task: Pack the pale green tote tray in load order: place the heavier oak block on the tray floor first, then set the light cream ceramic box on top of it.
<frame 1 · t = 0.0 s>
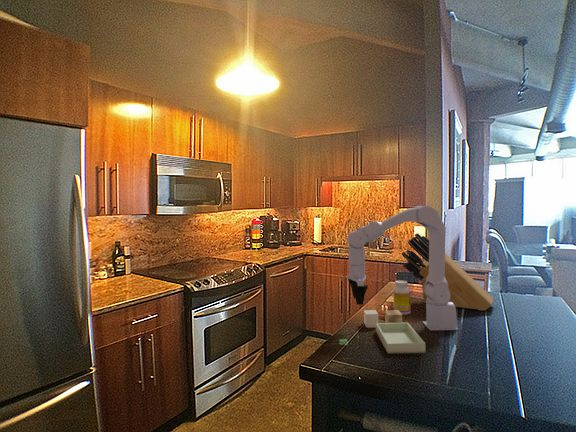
hand: (358, 301, 121), 10 cm above the worktop, tool pointing down, fingers open, 7 cm apart
oak block: (393, 325, 122), on the worktop
tote tray: (398, 341, 109), on the worktop
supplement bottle: (402, 313, 136), on the worktop
cream box: (371, 325, 124), on the worktop
knife block: (446, 303, 146), on the worktop
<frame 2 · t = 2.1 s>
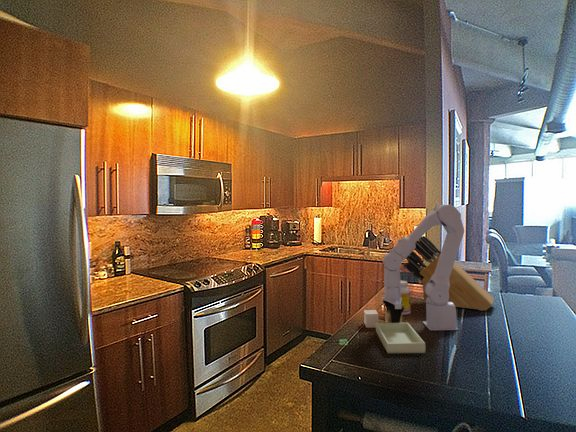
hand: (393, 322, 122), 1 cm above the worktop, tool pointing down, fingers closed on oak block, 5 cm apart
oak block: (393, 325, 122), on the worktop, touching gripper
everything else where it was.
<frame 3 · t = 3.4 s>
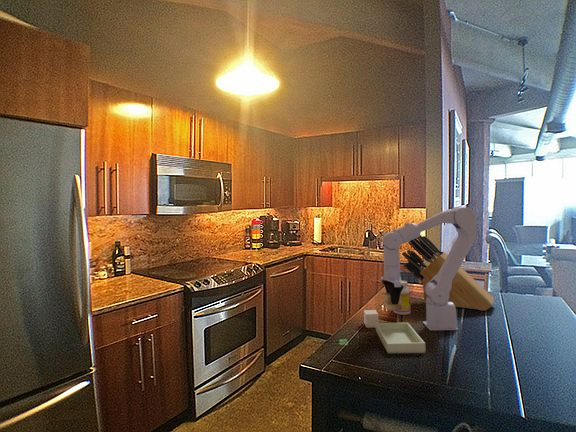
hand: (393, 301, 122), 9 cm above the worktop, tool pointing down, fingers closed on oak block, 5 cm apart
oak block: (392, 307, 122), point 7 cm above the worktop, touching gripper
everything else where it was.
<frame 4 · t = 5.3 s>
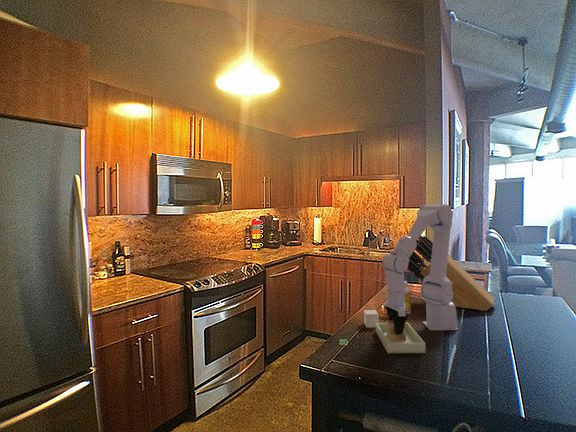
hand: (396, 330, 110), 3 cm above the worktop, tool pointing down, fingers closed on oak block, 5 cm apart
oak block: (396, 337, 111), resting on tote tray, touching gripper
everything else where it was.
when the fingers open (2 cm above the worktop, at t = 5.9 s): oak block stays where it is, resting on tote tray.
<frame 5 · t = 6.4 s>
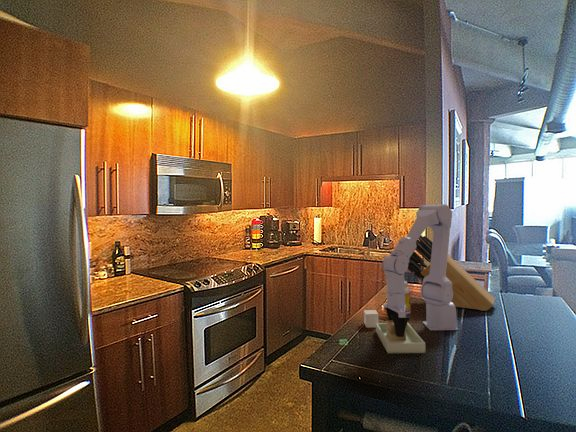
hand: (396, 331, 110), 2 cm above the worktop, tool pointing down, fingers open, 7 cm apart
oak block: (396, 337, 111), resting on tote tray
everything else where it was.
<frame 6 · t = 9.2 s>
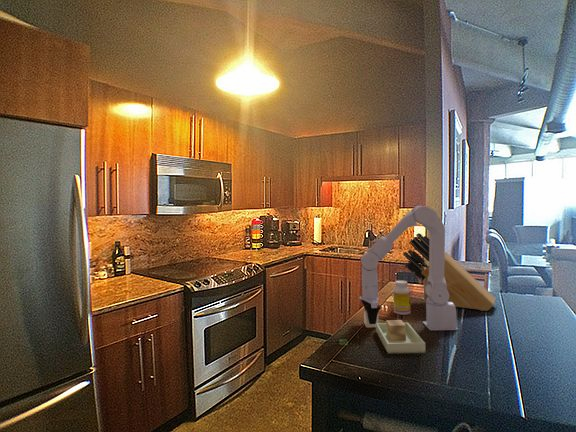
hand: (371, 321, 124), 1 cm above the worktop, tool pointing down, fingers closed on cream box, 4 cm apart
cream box: (371, 325, 124), on the worktop, touching gripper
everything else where it was.
when the fingers open (8 cm above the worktop, at t = 12.1 s): cream box stays where it is, resting on oak block.
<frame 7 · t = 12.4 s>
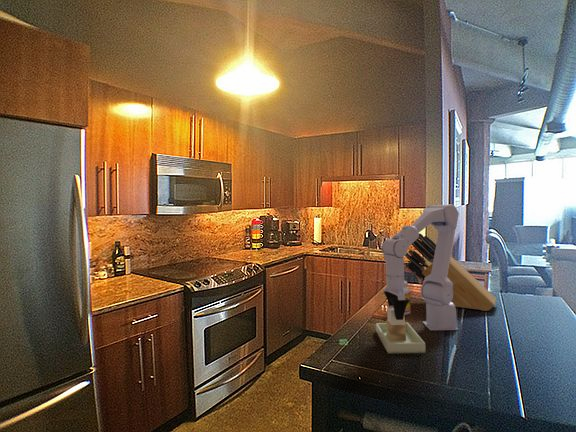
hand: (396, 315, 110), 8 cm above the worktop, tool pointing down, fingers open, 7 cm apart
oak block: (396, 337, 111), resting on tote tray, touching cream box
cream box: (396, 322, 110), point 5 cm above the worktop, touching oak block
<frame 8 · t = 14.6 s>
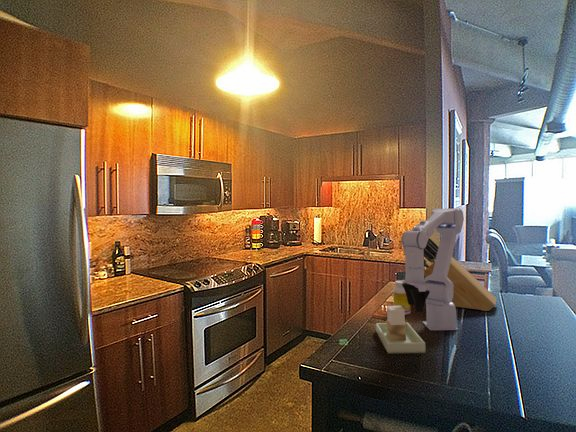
hand: (415, 307, 110), 10 cm above the worktop, tool pointing down, fingers open, 7 cm apart
at the end: oak block inside the target area on the tote tray (0.3 cm from its centre), point 0.5 cm above the tote tray's base; cream box 0.2 cm off-centre on the oak block, point 5.0 cm above the oak block's base; cream box tilted 0° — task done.
